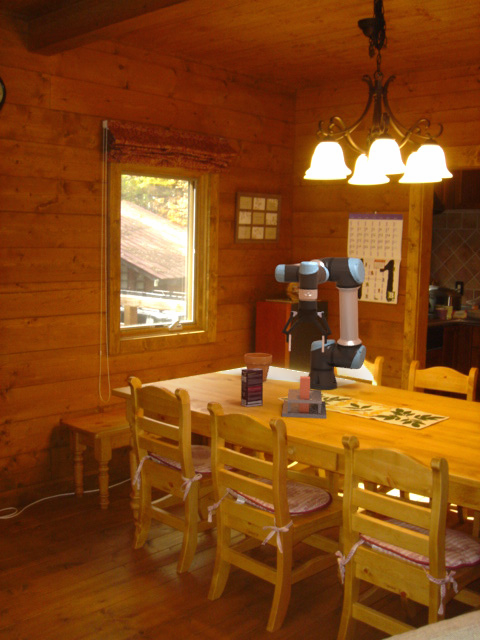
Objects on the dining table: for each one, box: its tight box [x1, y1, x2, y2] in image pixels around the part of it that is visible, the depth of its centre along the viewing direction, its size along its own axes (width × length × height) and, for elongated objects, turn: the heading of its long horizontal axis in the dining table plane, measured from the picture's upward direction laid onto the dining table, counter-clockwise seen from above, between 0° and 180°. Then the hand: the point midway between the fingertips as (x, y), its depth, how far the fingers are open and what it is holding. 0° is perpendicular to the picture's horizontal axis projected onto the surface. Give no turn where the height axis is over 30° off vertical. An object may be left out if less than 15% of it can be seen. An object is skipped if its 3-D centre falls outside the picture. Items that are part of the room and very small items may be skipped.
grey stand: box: [281, 388, 327, 419], centre depth 308 cm, size 18×24×13 cm
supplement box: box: [240, 368, 264, 408], centre depth 315 cm, size 9×5×16 cm, turn 121°
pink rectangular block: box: [299, 375, 311, 412], centre depth 301 cm, size 4×4×14 cm
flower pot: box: [243, 352, 273, 382], centre depth 372 cm, size 14×14×13 cm
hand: (306, 351), depth 299 cm, fingers open, 13 cm apart
